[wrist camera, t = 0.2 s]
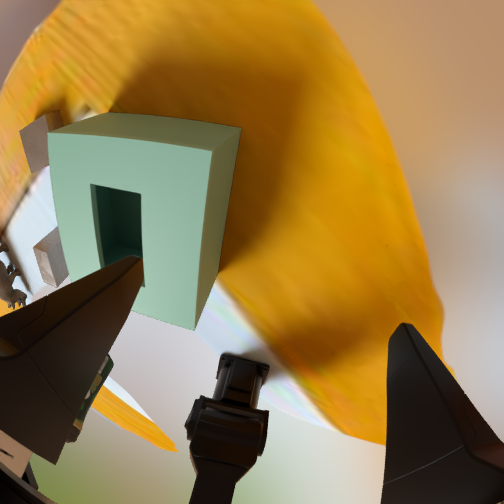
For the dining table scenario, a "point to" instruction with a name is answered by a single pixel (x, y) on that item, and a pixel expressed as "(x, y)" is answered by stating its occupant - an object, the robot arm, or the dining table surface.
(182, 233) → the teal box
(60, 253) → the block
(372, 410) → the dining table surface
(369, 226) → the dining table surface
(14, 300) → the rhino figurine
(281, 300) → the dining table surface
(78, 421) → the coffee jar
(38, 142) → the block
